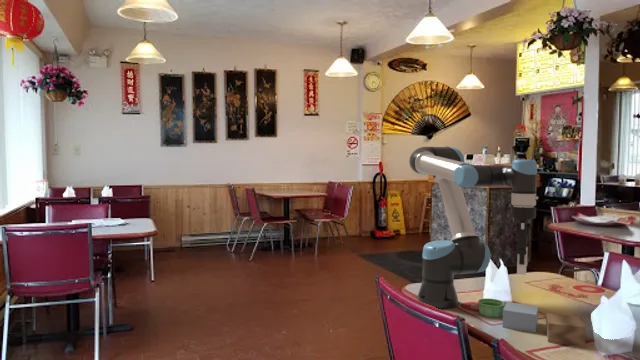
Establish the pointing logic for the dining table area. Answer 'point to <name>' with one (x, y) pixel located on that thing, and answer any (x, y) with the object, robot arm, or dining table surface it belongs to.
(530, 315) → the slate-grey block
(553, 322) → the walnut base block
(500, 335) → the dining table surface
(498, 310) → the ramekin
